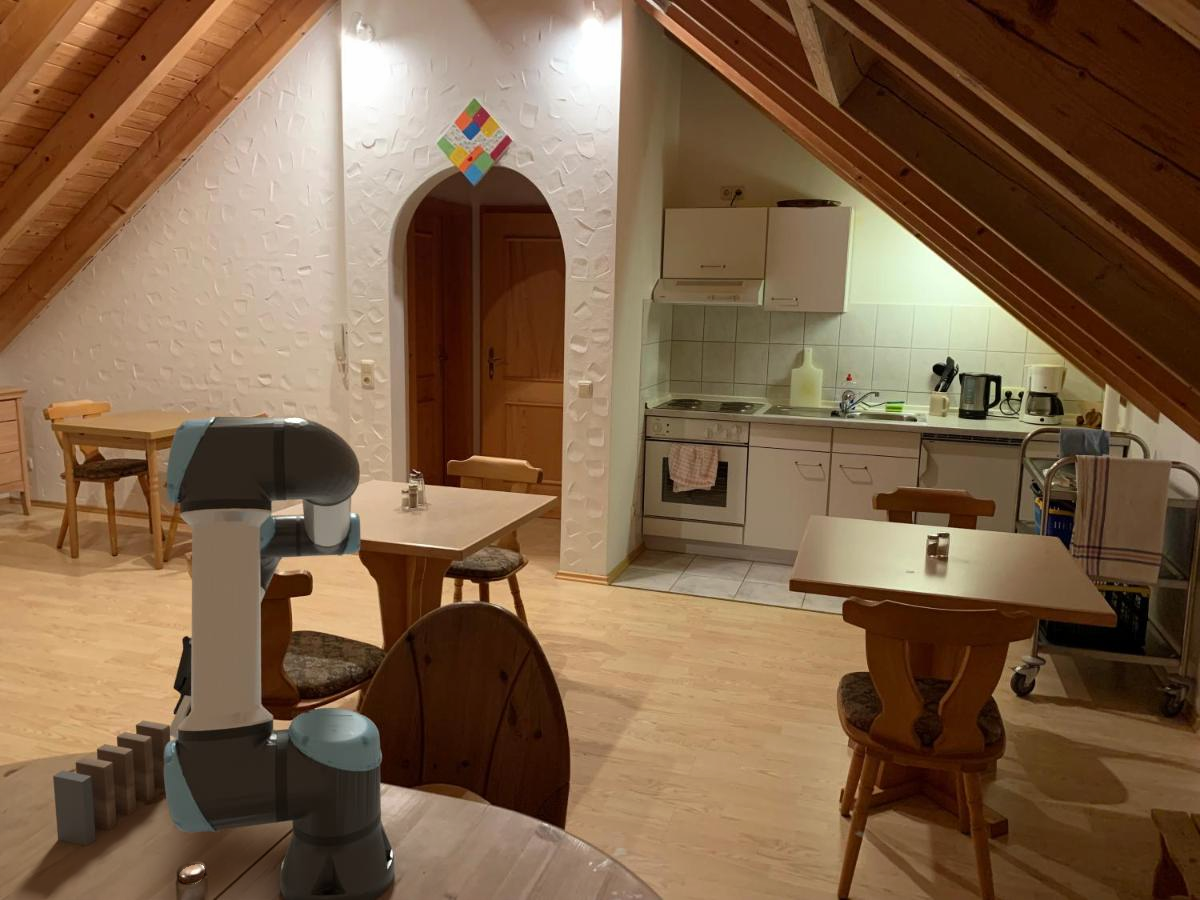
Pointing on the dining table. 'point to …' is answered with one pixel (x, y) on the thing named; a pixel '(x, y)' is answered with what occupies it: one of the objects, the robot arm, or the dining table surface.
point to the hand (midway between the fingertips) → (175, 736)
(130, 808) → the domino
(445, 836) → the dining table surface
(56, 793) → the domino
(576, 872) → the dining table surface
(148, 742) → the domino
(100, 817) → the domino
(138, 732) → the domino
